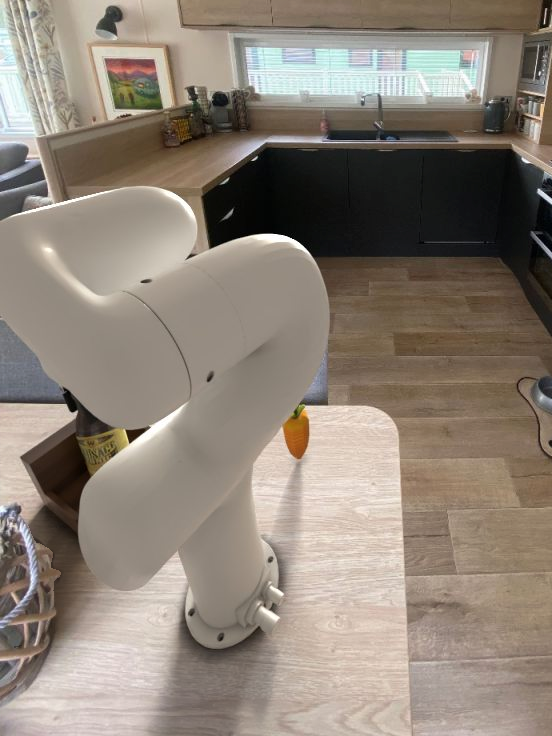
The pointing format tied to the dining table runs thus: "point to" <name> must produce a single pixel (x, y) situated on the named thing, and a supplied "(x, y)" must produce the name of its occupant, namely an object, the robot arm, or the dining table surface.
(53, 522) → the dining table surface
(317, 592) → the dining table surface
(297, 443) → the decorative vegetable
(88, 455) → the sauce bottle
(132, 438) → the brown wooden box
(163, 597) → the dining table surface
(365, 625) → the dining table surface
